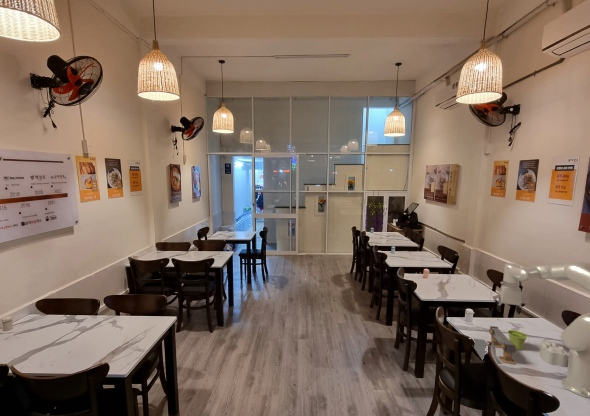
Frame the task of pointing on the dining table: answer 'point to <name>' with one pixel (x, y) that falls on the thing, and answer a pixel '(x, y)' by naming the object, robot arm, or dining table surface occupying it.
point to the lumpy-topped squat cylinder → (553, 354)
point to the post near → (506, 356)
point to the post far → (494, 340)
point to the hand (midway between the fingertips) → (508, 312)
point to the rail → (503, 339)
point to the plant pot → (517, 338)
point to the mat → (482, 349)
